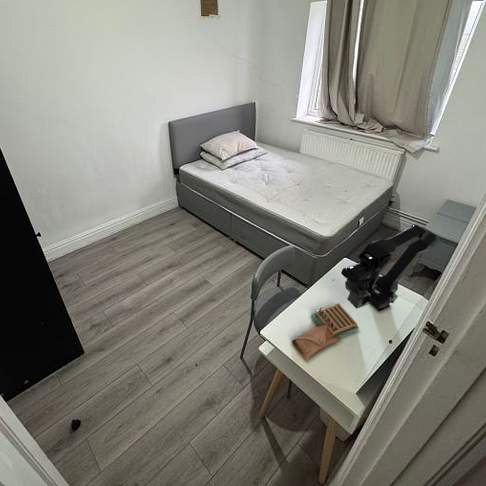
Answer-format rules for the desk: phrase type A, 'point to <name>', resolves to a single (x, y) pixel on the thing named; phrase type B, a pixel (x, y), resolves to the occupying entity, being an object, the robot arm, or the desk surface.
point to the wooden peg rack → (336, 320)
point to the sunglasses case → (314, 341)
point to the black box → (357, 300)
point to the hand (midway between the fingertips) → (358, 300)
